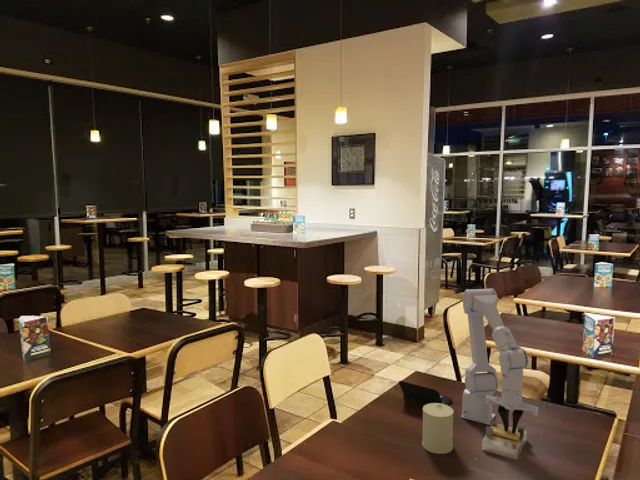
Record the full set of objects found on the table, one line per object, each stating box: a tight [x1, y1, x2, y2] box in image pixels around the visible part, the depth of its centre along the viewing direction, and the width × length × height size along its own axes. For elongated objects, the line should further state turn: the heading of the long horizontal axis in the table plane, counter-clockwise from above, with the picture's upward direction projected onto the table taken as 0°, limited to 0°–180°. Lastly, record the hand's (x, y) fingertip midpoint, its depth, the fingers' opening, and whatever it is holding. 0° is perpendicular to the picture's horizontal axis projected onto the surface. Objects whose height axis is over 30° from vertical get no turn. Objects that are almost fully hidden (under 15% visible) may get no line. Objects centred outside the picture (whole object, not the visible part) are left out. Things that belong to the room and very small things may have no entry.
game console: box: [398, 380, 453, 406], centre depth 175 cm, size 16×14×9 cm
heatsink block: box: [481, 419, 528, 461], centre depth 146 cm, size 10×13×5 cm
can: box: [421, 403, 455, 455], centre depth 146 cm, size 9×9×12 cm
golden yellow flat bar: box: [491, 426, 520, 440], centre depth 146 cm, size 8×3×1 cm, turn 56°
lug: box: [517, 425, 526, 437], centre depth 146 cm, size 2×2×2 cm
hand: (510, 431), depth 145 cm, fingers closed
